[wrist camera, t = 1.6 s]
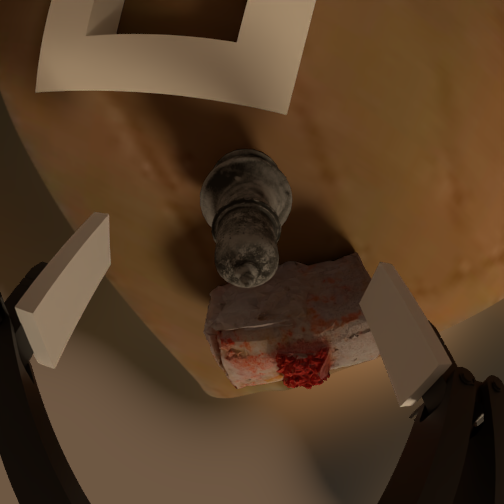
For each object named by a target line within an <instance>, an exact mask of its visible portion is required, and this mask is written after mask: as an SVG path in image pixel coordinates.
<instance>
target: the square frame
mask: <svg viewBox="0 0 504 504" xmlns="http://www.w3.org/2000/svg"><path fill="white" fill-rule="evenodd" d="M124 1H125V0H51V4H50V8H49V12H48V16H47V20H46V25H45V29H44V34H43V39H42V45H41V51H40V57H39V64H38V72H37V81H36V91H35V93H36V92H51V91H80V90H100V91H130V92H146V93H158V94H169V95H178V96H186V97H194V98H202V99H209V100H215V101H221V102H227V103H233V104H238V105H244V106H249V107H254V108H259V109H263V110H268V111H273V112H277V113H281V114H285V115H287V112H288V108H289V104H290V100H291V96H292V92H293V88H294V84H295V80H296V76H297V72H298V68H299V64H300V60H301V57H302V53H303V49H304V45H305V41H306V37H307V33H308V29H309V25H310V21H311V17H312V13H313V9H314V5H315V1H316V0H248V1H247V4H246V8H245V12H244V16H243V20H242V23H241V27H240V31H239V35H238V39H237V42H230V41H224V40H217V39H209V38H200V37H190V36H177V35H159V34H117V29H118V25H119V21H120V16H121V12H122V9H123V5H124Z"/></svg>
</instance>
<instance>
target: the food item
mask: <svg viewBox="0 0 504 504" xmlns="http://www.w3.org/2000/svg"><path fill="white" fill-rule="evenodd" d="M370 281H371V278H370V276H369V274H368V272H367V271H366V269H365V268H364V266H363V264H362V261H361V259H360V256H359V255H358V253H356V252H355V253H353V254H350V255H348V256H344V257H342V258H340V259H337V260H335V261H326V262H321V263H317V264H313V265H309V266H307V265H304V264H302V263H299V262H296V261H288V262H285V263H284V264H282V265H279V266H278V268H277V270H276V272H275V274H274V275H273V277H272V278H271V279H270V280H268V281H267V282H265V283H264V284H262V285H259V286H256V287H251V288H243V287H238V286H235V285H233V284H231V283H228V284H226V285H224V286H217V287H216V288H215V289H214V290H212V291H211V292H210V293H209V294H210V296H211V300H210V301H209V305H208V312H207V319H206V322H205V329H204V334H205V336H206V339H207V340H208V342H209V344H210V347H211V348H210V349H211V352H212V354H213V356H214V358H215V360H216V362H217V364H218V365H219V366H220V367H221V369H222V370H223V371H224V372H225V374H226V376H227V378H228V379H229V380H230V382H231V383H232V384H233V385H234V386H235V387H236V388H237V389H239V388H242V387H245V386H248V385H252V386H254V385H257V384H265V383H271V382H276V381H280V380H282V381H283V384H284V385H285V386H287V387H288V388H290V387H292V388H295V387H298V386H303V387H305V388H307V389H311V387H312V385H313V386H314V385H320V384H322V383H323V380H327V377H328V378H329V377H330V374H329V370H330V369H336V368H339V367H344V366H350V365H354V364H358V363H361V362H363V361H370V360H373V359H376V358H377V357H378V355H379V354H380V352H379V350H378V347H377V345H376V342H375V340H374V338H373V335H372V333H371V330H370V328H369V325H368V323H367V321H366V318H365V316H364V314H363V311H362V309H361V307H360V305H359V303H360V301H361V299H362V297H363V295H364V293H365V291H366V289H367V287H368V285H369V283H370ZM322 379H323V380H322Z"/></svg>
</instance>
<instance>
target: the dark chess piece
mask: <svg viewBox="0 0 504 504" xmlns="http://www.w3.org/2000/svg"><path fill="white" fill-rule="evenodd" d="M291 205H292V193H291V188H290V185H289V183H288V181H287V179H286V177H285V176H284V174H283V173H282V172H281V171H280V170H279V169H278V167H277V165H276V164H275V163H274V161H273V160H272V159H271V158H270V157H268V156H267V155H265V154H264V153H262V152H259V151H256V150H253V149H240V150H235V151H232V152H230V153H228V154H226V155H225V156H223V157H222V158H221V159H220V160H219V161H218V162H217V164H216V165H215V167H214V168H213V170H212V171H211V172H210V173H209V175H208V176H207V178H206V179H205V181H204V183H203V186H202V189H201V192H200V206H201V210H202V214H203V216H204V218H205V219H206V221H207V223H208V224H209V225H210V226H211V227H212V235H213V239H214V241H215V242H216V248H215V265H216V268H217V271H218V273H219V274H220V276H221V277H222V278H223V279H224V280H226V281H227V282H229V283H231V284H233V285H235V286H238V287H243V288H251V287H256V286H259V285H262V284H264V283H265V282H267V281H268V280H270V279H271V278H272V277H273V275H274V274H275V272H276V270H277V268H278V263H279V254H278V248H277V242H278V240H279V238H280V234H281V226H282V225H283V224H284V222H285V221H286V220H287V217H288V215H289V213H290V211H291Z"/></svg>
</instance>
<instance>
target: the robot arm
mask: <svg viewBox="0 0 504 504" xmlns="http://www.w3.org/2000/svg"><path fill="white" fill-rule="evenodd" d="M110 265H111V260H110V239H109V214H104V213H98V212H94V213H93V214H92V215H91V216H90V217H89V218H88V219H87V220H86V221H85V222H84V224H83V225H82V226H81V227H80V228H79V229H78V230H77V231H76V232H75V233H74V234H73V236H72V237H71V238H70V239H69V240H68V241H67V242H66V243H65V244H64V246H63V247H62V248H61V249H60V250H59V251H58V252H57V254H56V255H55V256H54V257H53V258H52V260H51V261H50V262H49V263H45V262H41V263H39V264H37V265H36V266H34V267H33V268H31V270H30V271H29V272H28V273H27V274H26V276H25V278H23V279H22V281H21V282H20V284H19V285H18V286H17V287H16V288H15V289H14V291H13V292H12V293H11V295H10V296H9V297H8V298H7V300H6V301H5V302H4V301H3V298H2V295H1V293H0V455H1V458H2V461H3V464H4V467H5V470H6V472H7V475H8V478H9V480H10V482H11V485H12V488H13V490H14V492H15V495H16V497H17V499H18V502H19V504H91V503H90V502H89V500H88V499H87V497H86V495H85V494H84V492H83V490H82V489H81V486H80V485H79V483H78V481H77V479H76V477H75V475H74V474H73V471H72V470H71V468H70V466H69V464H68V462H67V460H66V457H65V455H64V453H63V451H62V449H61V447H60V445H59V442H58V440H57V437H56V435H55V433H54V431H53V428H52V426H51V423H50V420H49V418H48V415H47V412H46V410H45V407H44V404H43V401H42V398H41V395H40V392H39V389H38V386H37V383H36V380H35V376H34V372H33V369H32V366H31V363H30V362H29V360H30V358H31V357H32V354H33V353H34V356H35V358H36V360H37V362H38V363H39V364H42V365H45V366H47V367H50V368H53V369H55V368H56V365H57V363H58V361H59V359H60V357H61V355H62V353H63V351H64V349H65V346H66V344H67V342H68V340H69V338H70V336H71V334H72V332H73V330H74V328H75V326H76V325H77V323H78V320H79V319H80V317H81V315H82V313H83V312H84V310H85V308H86V306H87V304H88V302H89V301H90V299H91V297H92V295H93V294H94V292H95V290H96V288H97V287H98V285H99V283H100V281H101V280H102V278H103V276H104V275H105V273H106V271H107V270H108V268H109V266H110ZM359 305H360V307H361V309H362V311H363V314H364V316H365V318H366V321H367V323H368V325H369V328H370V330H371V333H372V335H373V338H374V340H375V342H376V345H377V347H378V350H379V352H380V355H381V357H382V360H383V362H384V365H385V368H386V370H387V373H388V375H389V378H390V380H391V384H392V386H393V389H394V392H395V394H396V397H397V400H398V403H399V406H400V407H402V406H410V405H414V404H415V403H416V402H417V401H418V400H419V399H420V398H421V397H422V398H423V400H424V403H423V404H422V405H421V406H420V407H419V408H418V409H416V410H415V411H414V413H413V414H411V416H410V417H409V418H412V417H413V416H414V415H416V414H417V416H416V418H415V419H414V421H415V422H414V424H413V427H412V430H411V432H410V435H409V438H408V440H407V443H406V445H405V448H404V450H403V452H402V455H401V457H400V459H399V462H398V464H397V466H396V468H395V470H394V473H393V475H392V477H391V479H390V481H389V483H388V485H387V487H386V489H385V491H384V493H383V495H382V496H381V498H380V500H379V502H378V504H504V385H503V383H502V381H501V380H500V379H499V378H498V377H496V376H493V375H491V376H489V377H488V378H487V379H486V380H485V381H484V382H479V381H476V380H475V377H474V376H473V374H472V373H471V372H470V371H469V370H468V369H466V368H463V367H457V365H456V363H455V361H454V359H453V357H452V355H451V354H450V352H449V350H448V348H447V346H446V345H444V341H443V340H442V338H440V337H441V336H440V334H439V332H438V331H437V329H436V328H435V327H434V326H433V325H432V323H431V322H430V321H429V320H427V318H426V316H425V315H424V313H423V312H422V310H421V308H420V307H419V305H418V303H417V302H416V300H415V299H414V297H413V295H412V294H411V292H410V291H409V289H408V288H407V286H406V285H405V283H404V282H403V280H402V278H401V277H400V275H399V274H398V272H397V271H396V269H395V268H394V267H393V265H392V264H389V263H383V262H380V263H379V265H378V267H377V269H376V271H375V273H374V275H373V277H372V279H371V281H370V283H369V285H368V287H367V289H366V291H365V293H364V295H363V297H362V299H361V301H360V303H359ZM482 416H484V422H482V423H481V424H480V425H479V426H477V423H476V422H477V421H478V420H479V419H480V418H481V417H482Z"/></svg>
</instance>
